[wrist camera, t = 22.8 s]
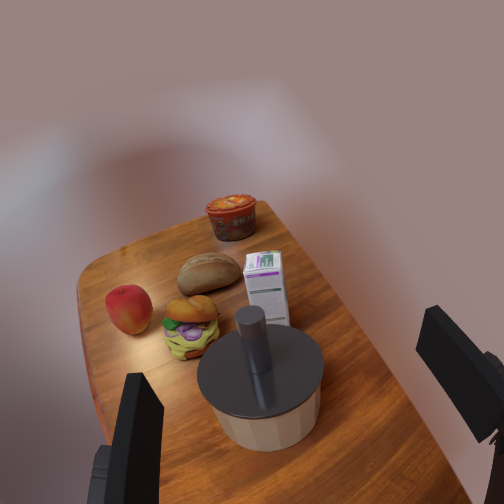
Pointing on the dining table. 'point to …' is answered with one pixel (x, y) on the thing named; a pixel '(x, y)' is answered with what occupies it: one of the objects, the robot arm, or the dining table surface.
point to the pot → (272, 427)
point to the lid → (260, 368)
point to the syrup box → (267, 285)
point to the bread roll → (207, 273)
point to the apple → (129, 308)
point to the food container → (232, 217)
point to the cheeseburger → (190, 326)
